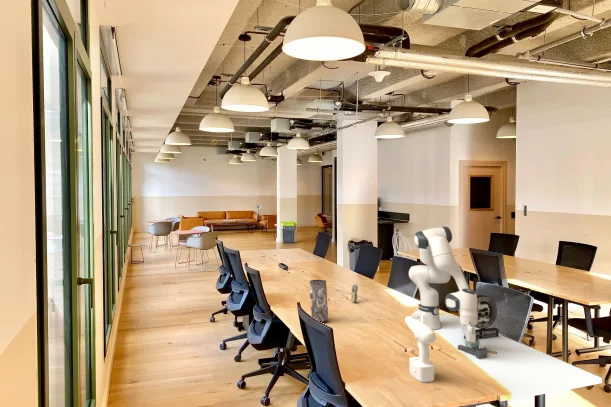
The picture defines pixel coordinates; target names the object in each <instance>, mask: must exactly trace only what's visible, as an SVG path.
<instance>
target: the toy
mask: <svg viewBox="0 0 611 407" xmlns="http://www.w3.org/2000/svg"><path fill="white" fill-rule="evenodd" d="M358 288H359V286H358V285H357V283H356V282H354V284H352V286H351V293H349V292H344V291H342V290H339V289H336V291H338V292H342V293H345V294H348V295H351V302H352V303H353V301H354V302H356V303H357V301H359V300H358V297H359V298H362V299H365V300H367V298H366V297H363V296H358Z"/></svg>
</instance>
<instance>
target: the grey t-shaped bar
mask: <svg viewBox="0 0 611 407" xmlns="http://www.w3.org/2000/svg"><path fill="white" fill-rule="evenodd" d="M457 350H459V351H462V352H464V353H466V354H469V355H472V356H473V357H474V356H475V358H476V359H478V360H481V359H482V360H483V359H485V358H488V353H487V350H488V348H486V347H484V345H483V344H481V345H480V344H479V349H477V348H475V349H474V348H472V349H471V348H468V347H466V345H463V344H457Z"/></svg>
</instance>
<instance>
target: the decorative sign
mask: <svg viewBox="0 0 611 407" xmlns="http://www.w3.org/2000/svg"><path fill="white" fill-rule="evenodd" d="M476 295H477V325H475V327H474V328H475V335H476V340H481V339H489V338H490V339H491V338H499V337H500V336H499V335H500V334H499V333H500V332H499V328H497V327H491V326H492V325H493V323H494V322H495V321H496V319H497V314H498V307H497V304H496V302H495V301H494V300H493V298H491V297H490V296H487V295H484V294H476ZM463 339H465V340H466V337H465V335H464V334H463Z"/></svg>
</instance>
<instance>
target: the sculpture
mask: <svg viewBox="0 0 611 407" xmlns="http://www.w3.org/2000/svg"><path fill="white" fill-rule="evenodd" d="M309 285H310V288H311V290H310V291H309V298H310V299H311V305H310V311H311V318H312V317H314V318H315V319H317V320H318V321H321V322H322V323H323V322H325V321H329V305H328V295H327V294H328V293H327V289H328V288H327V287H328V286H327V280H325V279H324V280H323V279H312V280H311V279H310V280H309ZM321 322H320V323H321Z"/></svg>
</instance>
